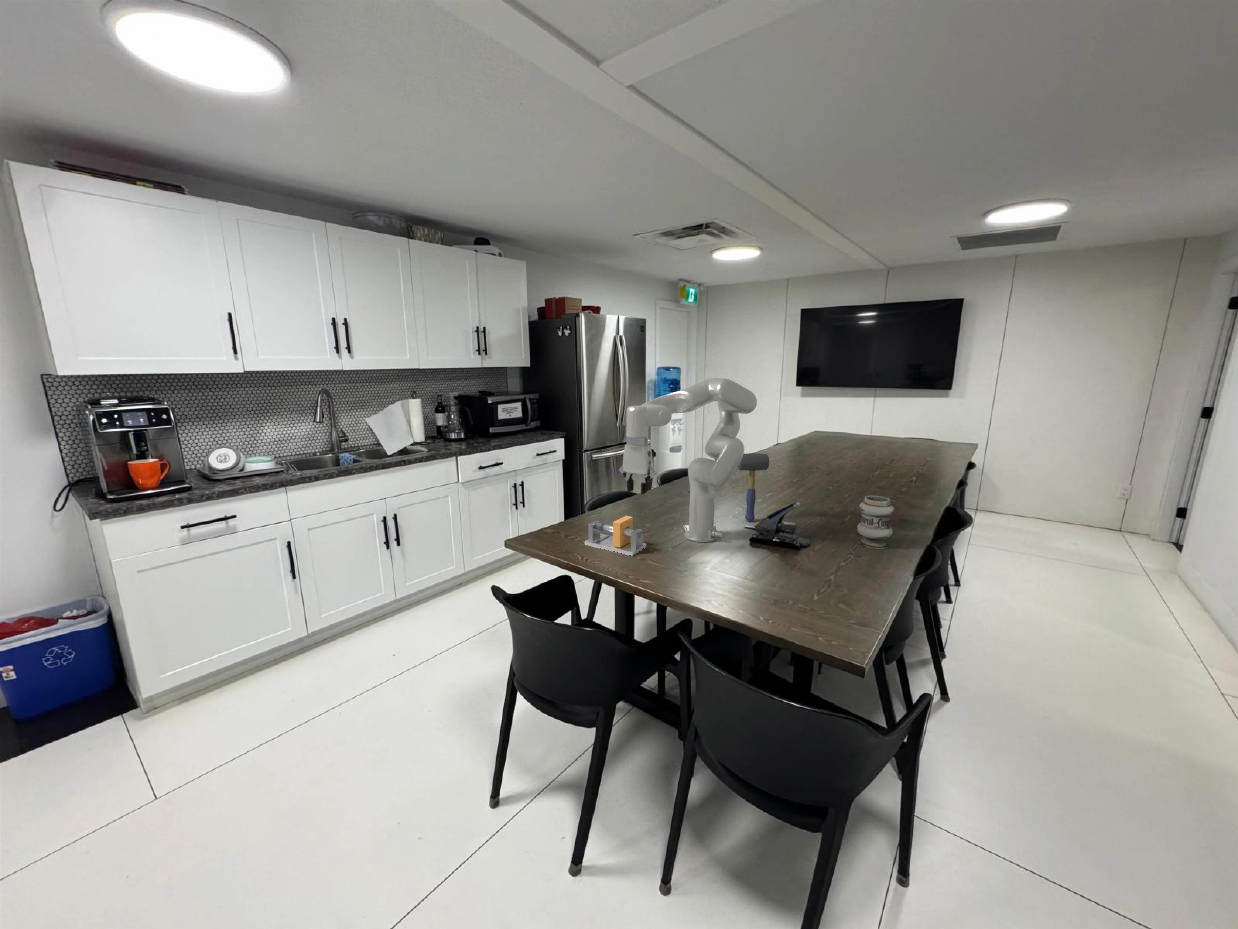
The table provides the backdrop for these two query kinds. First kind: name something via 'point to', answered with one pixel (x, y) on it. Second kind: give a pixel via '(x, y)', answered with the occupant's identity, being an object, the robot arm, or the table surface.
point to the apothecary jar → (875, 521)
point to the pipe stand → (607, 541)
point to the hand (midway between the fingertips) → (637, 491)
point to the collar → (622, 531)
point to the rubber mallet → (752, 478)
